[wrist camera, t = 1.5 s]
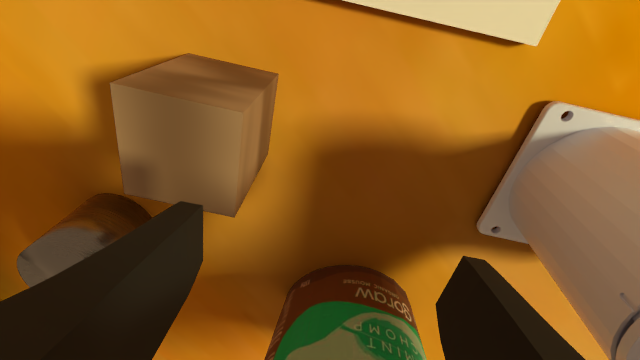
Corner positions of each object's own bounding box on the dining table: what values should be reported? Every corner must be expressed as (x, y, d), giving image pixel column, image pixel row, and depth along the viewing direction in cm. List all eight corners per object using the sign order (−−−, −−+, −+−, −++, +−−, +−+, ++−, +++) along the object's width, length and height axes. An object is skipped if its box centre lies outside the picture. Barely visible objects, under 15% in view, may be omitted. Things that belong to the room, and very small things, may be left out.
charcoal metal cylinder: (155, 202, 21) (103, 258, 16) (159, 258, 23) (115, 318, 19) (77, 185, 21) (5, 237, 16) (90, 243, 23) (30, 301, 19)
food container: (463, 281, 22) (535, 471, 13) (422, 334, 25) (458, 515, 16) (287, 230, 21) (240, 397, 12) (267, 291, 24) (219, 459, 15)
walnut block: (278, 73, 16) (242, 112, 11) (268, 153, 18) (234, 217, 13) (188, 53, 16) (109, 82, 11) (189, 136, 18) (124, 193, 13)
